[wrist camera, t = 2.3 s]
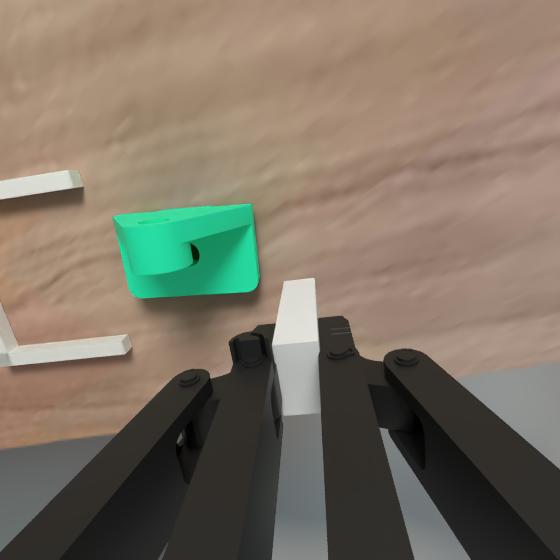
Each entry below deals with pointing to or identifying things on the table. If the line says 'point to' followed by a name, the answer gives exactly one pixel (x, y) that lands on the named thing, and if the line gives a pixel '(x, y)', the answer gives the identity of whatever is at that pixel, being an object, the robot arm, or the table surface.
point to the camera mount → (189, 251)
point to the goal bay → (7, 352)
